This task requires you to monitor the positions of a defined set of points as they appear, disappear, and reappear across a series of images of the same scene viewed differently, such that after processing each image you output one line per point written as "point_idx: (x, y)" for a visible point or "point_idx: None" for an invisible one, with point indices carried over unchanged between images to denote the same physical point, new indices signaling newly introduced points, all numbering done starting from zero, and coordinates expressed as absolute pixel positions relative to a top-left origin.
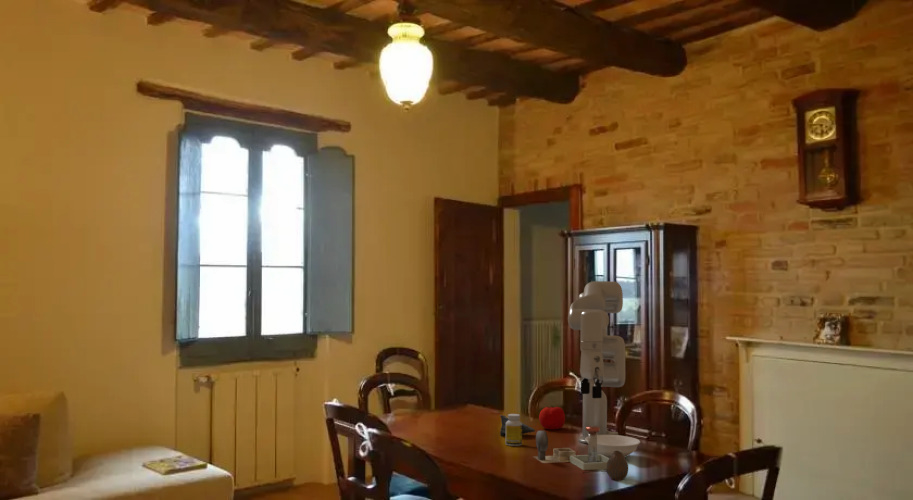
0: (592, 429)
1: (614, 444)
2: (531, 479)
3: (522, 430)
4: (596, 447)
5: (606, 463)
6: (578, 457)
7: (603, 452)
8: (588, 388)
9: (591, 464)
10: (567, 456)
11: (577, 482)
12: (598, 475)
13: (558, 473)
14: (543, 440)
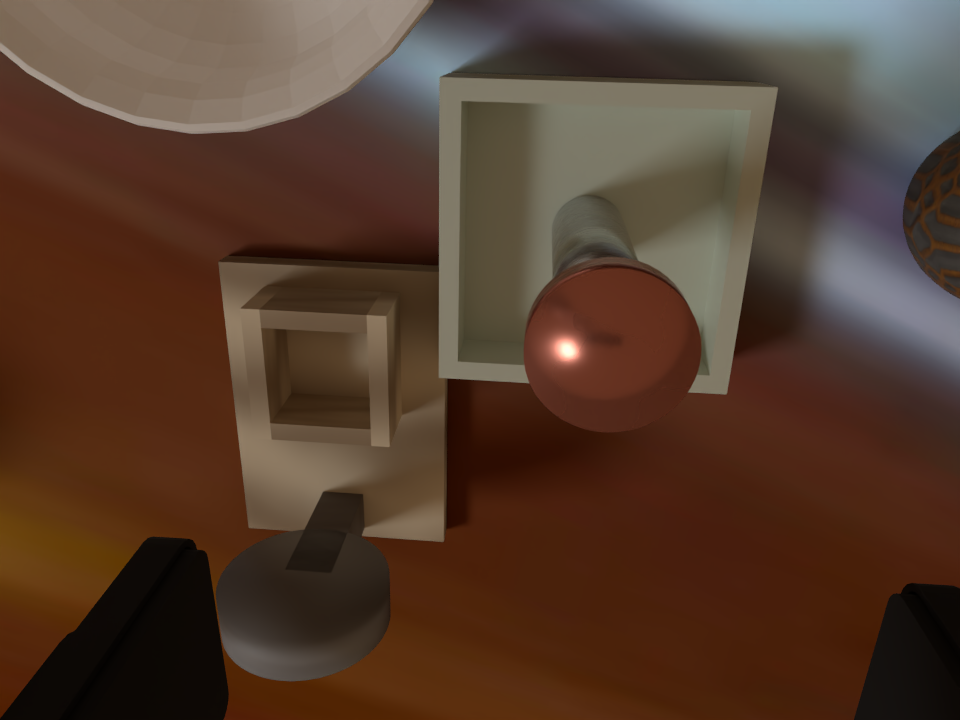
0: (684, 389)
1: None
2: (749, 702)
3: None
4: (636, 255)
5: (759, 191)
6: (459, 308)
7: (351, 7)
8: (143, 663)
9: (735, 325)
10: (394, 368)
11: (928, 507)
12: (817, 291)
13: (667, 519)
14: (382, 631)
